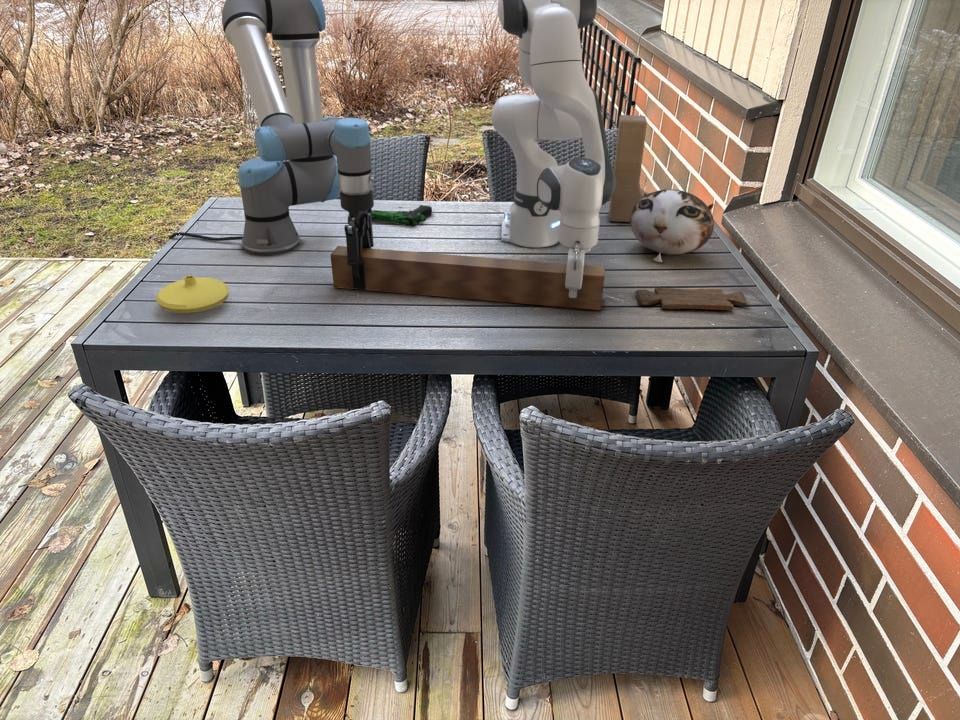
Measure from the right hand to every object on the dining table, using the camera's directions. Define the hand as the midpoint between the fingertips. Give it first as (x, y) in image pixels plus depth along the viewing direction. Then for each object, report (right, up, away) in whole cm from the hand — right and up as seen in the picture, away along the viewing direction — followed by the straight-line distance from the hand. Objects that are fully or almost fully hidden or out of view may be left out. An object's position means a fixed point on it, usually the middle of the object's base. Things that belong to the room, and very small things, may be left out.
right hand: (573, 290), depth 167 cm
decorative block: (+25, +27, +52) cm, 64 cm away
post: (-25, 0, +5) cm, 26 cm away
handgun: (-45, +27, +50) cm, 73 cm away
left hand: (-50, +2, +8) cm, 51 cm away
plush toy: (+29, +13, +30) cm, 44 cm away
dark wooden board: (+29, -3, +3) cm, 29 cm away
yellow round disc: (-87, -4, -2) cm, 87 cm away
